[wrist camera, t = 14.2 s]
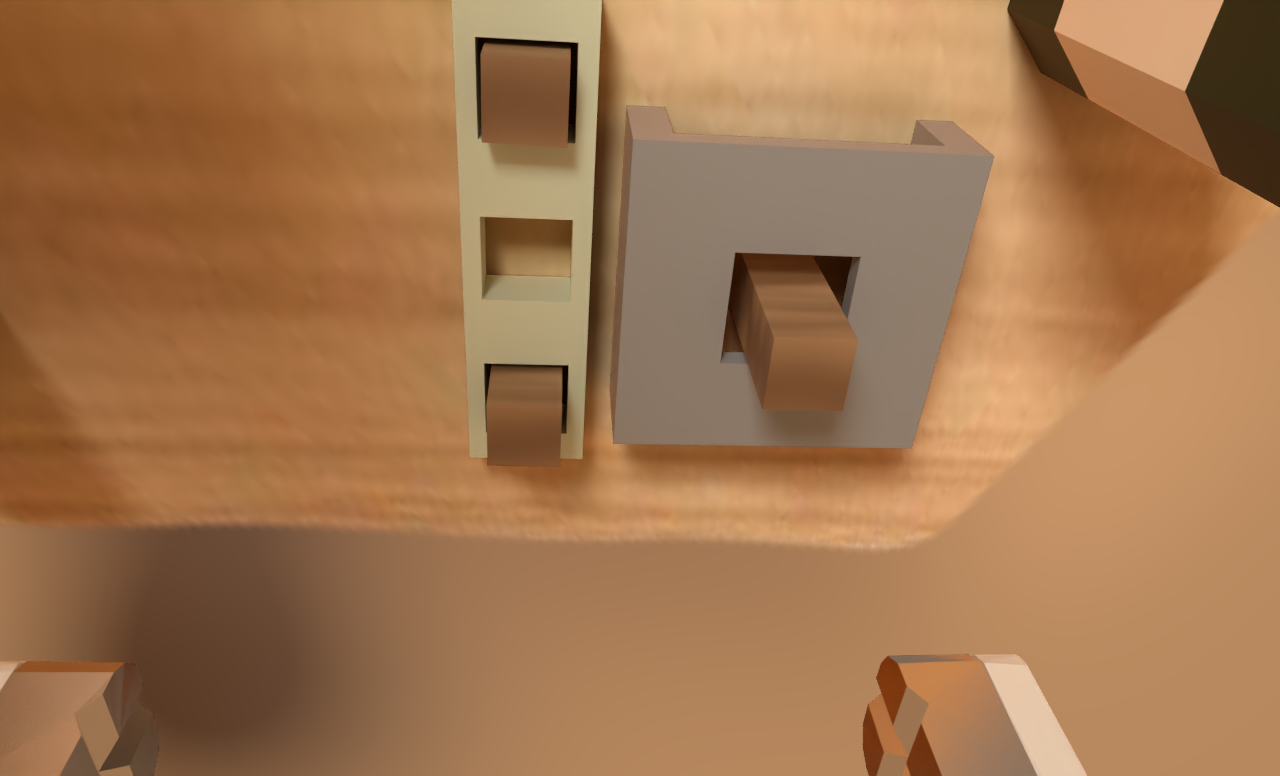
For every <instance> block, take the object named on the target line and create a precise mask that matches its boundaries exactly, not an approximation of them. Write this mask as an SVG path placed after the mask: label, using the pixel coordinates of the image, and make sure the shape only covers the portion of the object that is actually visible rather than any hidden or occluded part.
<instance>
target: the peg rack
mask: <svg viewBox="0 0 1280 776" xmlns="http://www.w3.org/2000/svg"><path fill="white" fill-rule="evenodd" d="M451 7H452V32H453V57H454V81H455V106H456V131H457V156H458V181H459V205H460V230H461V255H462V280H463V305H464V329H465V354H466V379H467V404H468V429H469V454H470V458H487V413H486V404H487V396H488V389H489V364H531V365H568V374H567V404H562V423H561V452H560V459H582V456H583V433H584V409H585V386H586V362H587V339H588V315H589V292H590V268H591V245H592V222H593V198H594V175H595V151H596V128H597V104H598V81H599V57H600V34H601V10H602V0H451ZM481 37H487V38H505V39H523V40H540V41H558V42H576V43H577V72H576V106H575V125H570V124H568V141H567V148H565V147H548V146H531V145H514V144H497V143H482V131H481ZM485 217H504V218H530V219H556V220H572V240H571V274H570V277H548V276H517V275H486V238H485Z"/></svg>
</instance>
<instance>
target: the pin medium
mask: <svg viewBox="0 0 1280 776" xmlns="http://www.w3.org/2000/svg"><path fill="white" fill-rule="evenodd" d="M486 413H487V464H488V465H496V466H557V467H560V452H561V423H562V365H531V364H492V366H491V373H490V381H489V389H488V396H487V404H486Z"/></svg>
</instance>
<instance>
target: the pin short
mask: <svg viewBox="0 0 1280 776" xmlns="http://www.w3.org/2000/svg"><path fill="white" fill-rule="evenodd" d="M570 64H571V42H558V41H540V40H523V39H505V38H487V37H486V40H485V43H484V46H483V48H482V51H481V131H482V143H497V144H514V145H531V146H548V147H565V148H567V141H568V116H569V90H570Z"/></svg>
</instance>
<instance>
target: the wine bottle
mask: <svg viewBox="0 0 1280 776" xmlns="http://www.w3.org/2000/svg"><path fill="white" fill-rule="evenodd" d="M1008 11H1009V13H1010V15H1011V17H1012V18H1013V20H1014V22H1015V24H1016V26H1017V28H1018V30H1019V32H1020V34H1021V36H1022V38H1023V39H1024V41H1025V43H1026V45H1027V47H1028V49H1029V51H1030V53H1031V55H1032V57H1033V59H1034V61H1035V62H1036V64H1037V66H1038V68H1039V70H1040V72H1041V73H1043V74H1045V75H1047V76H1048V77H1050V78H1052V79H1054V80H1055V81H1057V82H1059V83H1061V84H1062V85H1064V86H1066V87H1068V88H1070V89H1071V90H1073V91H1075V92H1077V93H1078V94H1080V95H1082V96H1084V97H1085V98H1087V99H1089V100H1091V101H1092V102H1094V103H1096V104H1098V105H1100V106H1101V107H1103V108H1105V109H1107V110H1108V111H1110V112H1112V113H1114V114H1115V115H1117V116H1119V117H1121V118H1123V119H1124V120H1126V121H1128V122H1130V123H1131V124H1133V125H1135V126H1137V127H1138V128H1140V129H1142V130H1144V131H1145V132H1147V133H1149V134H1151V135H1153V136H1154V137H1156V138H1158V139H1160V140H1161V141H1163V142H1165V143H1167V144H1168V145H1170V146H1172V147H1174V148H1176V149H1177V150H1179V151H1181V152H1183V153H1184V154H1186V155H1188V156H1190V157H1191V158H1193V159H1195V160H1197V161H1198V162H1200V163H1202V164H1204V165H1206V166H1207V167H1209V168H1211V169H1213V170H1214V171H1216V172H1218V173H1220V174H1221V175H1223V176H1225V177H1227V178H1229V179H1230V180H1232V181H1234V182H1236V183H1237V184H1239V185H1241V186H1243V187H1244V188H1246V189H1248V190H1250V191H1251V192H1253V193H1255V194H1257V195H1259V196H1260V197H1262V198H1264V199H1266V200H1267V201H1269V202H1271V203H1273V204H1274V205H1276V206H1278V207H1280V0H1010V2H1009V6H1008Z"/></svg>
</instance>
